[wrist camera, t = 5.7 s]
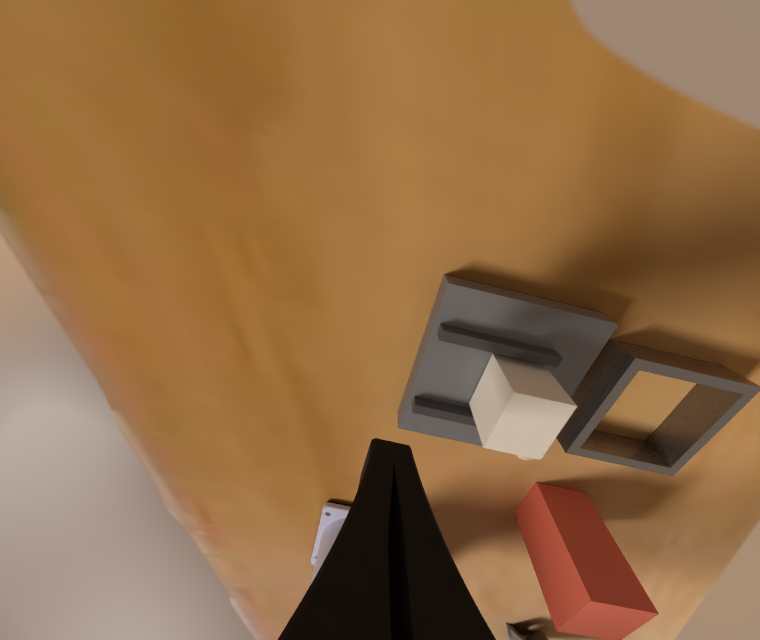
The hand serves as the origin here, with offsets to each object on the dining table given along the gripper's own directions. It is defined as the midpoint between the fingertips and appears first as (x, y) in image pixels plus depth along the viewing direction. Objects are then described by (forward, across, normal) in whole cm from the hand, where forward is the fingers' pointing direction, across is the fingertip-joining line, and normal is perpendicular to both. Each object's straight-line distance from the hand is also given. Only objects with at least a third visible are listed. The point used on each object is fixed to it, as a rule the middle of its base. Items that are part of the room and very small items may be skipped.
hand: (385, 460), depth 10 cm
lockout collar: (+8, -16, 0) cm, 18 cm away
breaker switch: (+7, -7, 0) cm, 9 cm away
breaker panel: (+8, -6, 0) cm, 10 cm away
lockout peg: (+8, -16, +11) cm, 21 cm away
